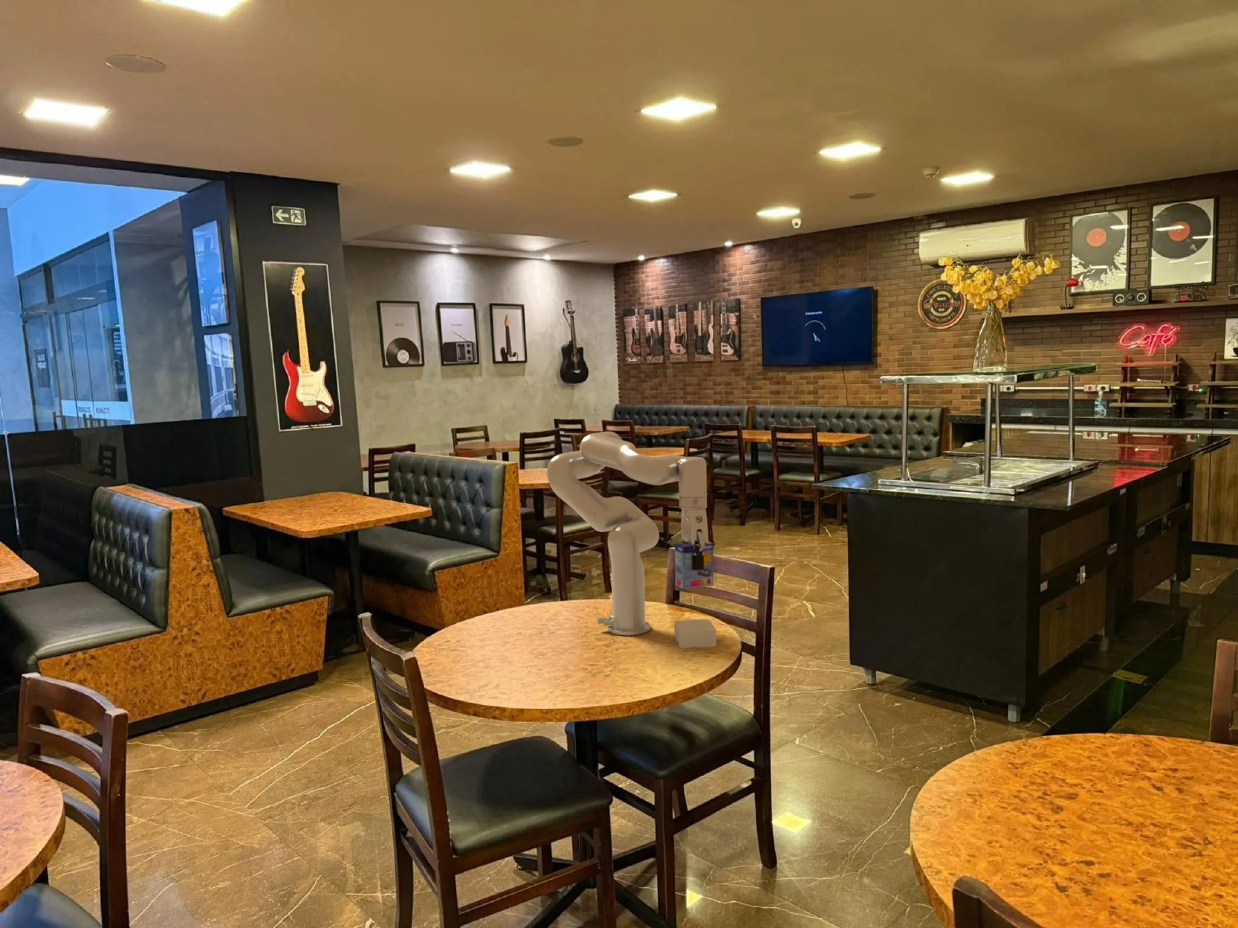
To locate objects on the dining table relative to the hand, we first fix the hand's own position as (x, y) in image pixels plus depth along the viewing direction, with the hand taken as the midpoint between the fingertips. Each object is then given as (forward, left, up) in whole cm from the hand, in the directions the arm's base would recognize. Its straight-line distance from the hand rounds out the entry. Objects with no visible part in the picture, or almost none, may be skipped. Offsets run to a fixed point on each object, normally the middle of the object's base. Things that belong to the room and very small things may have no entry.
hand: (693, 566), depth 233 cm
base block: (0, +1, -22) cm, 22 cm away
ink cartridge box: (0, 0, -6) cm, 6 cm away
